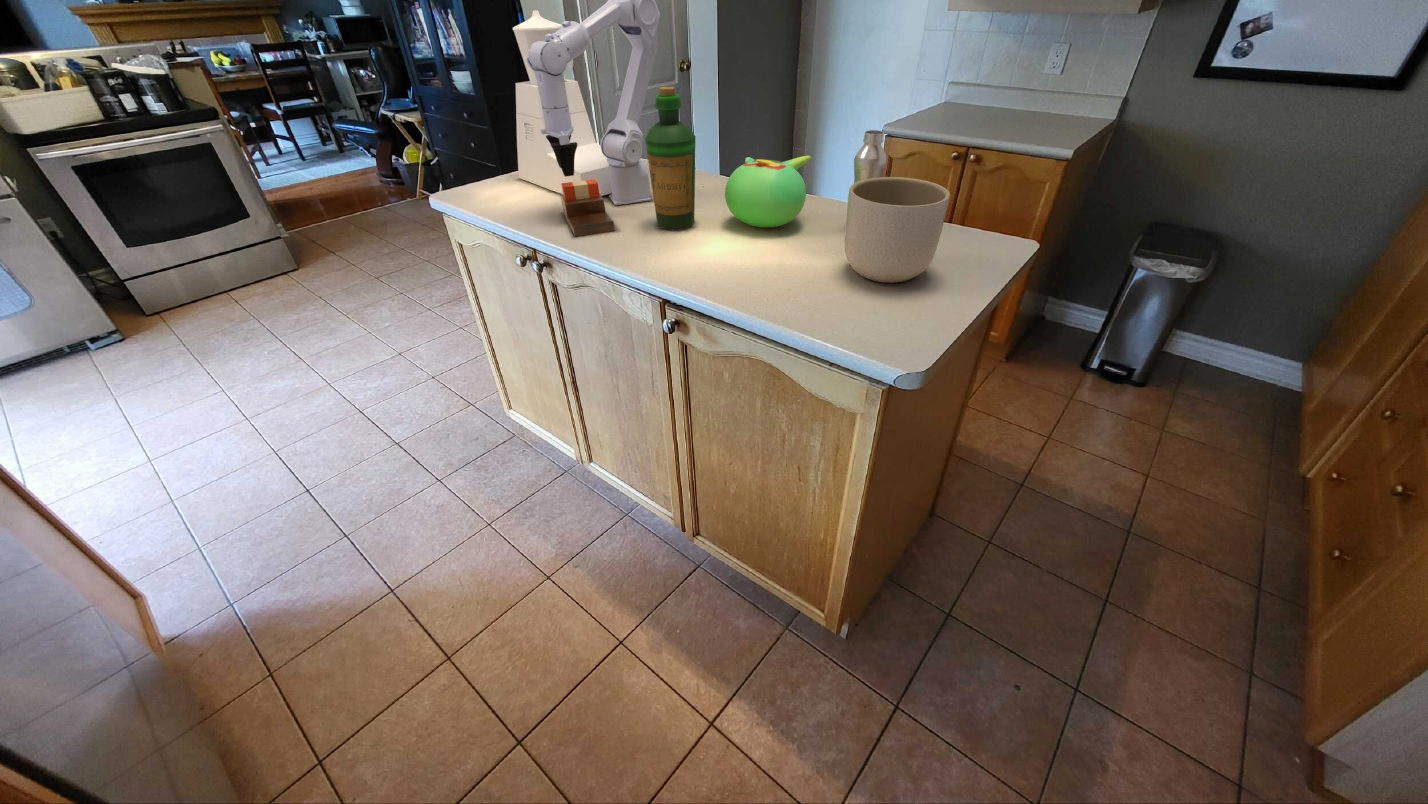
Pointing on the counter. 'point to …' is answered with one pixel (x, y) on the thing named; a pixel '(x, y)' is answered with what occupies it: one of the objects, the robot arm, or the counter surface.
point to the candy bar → (580, 190)
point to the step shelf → (587, 216)
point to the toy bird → (766, 191)
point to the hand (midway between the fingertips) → (566, 171)
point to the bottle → (671, 164)
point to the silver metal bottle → (870, 157)
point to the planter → (893, 227)
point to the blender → (531, 143)
